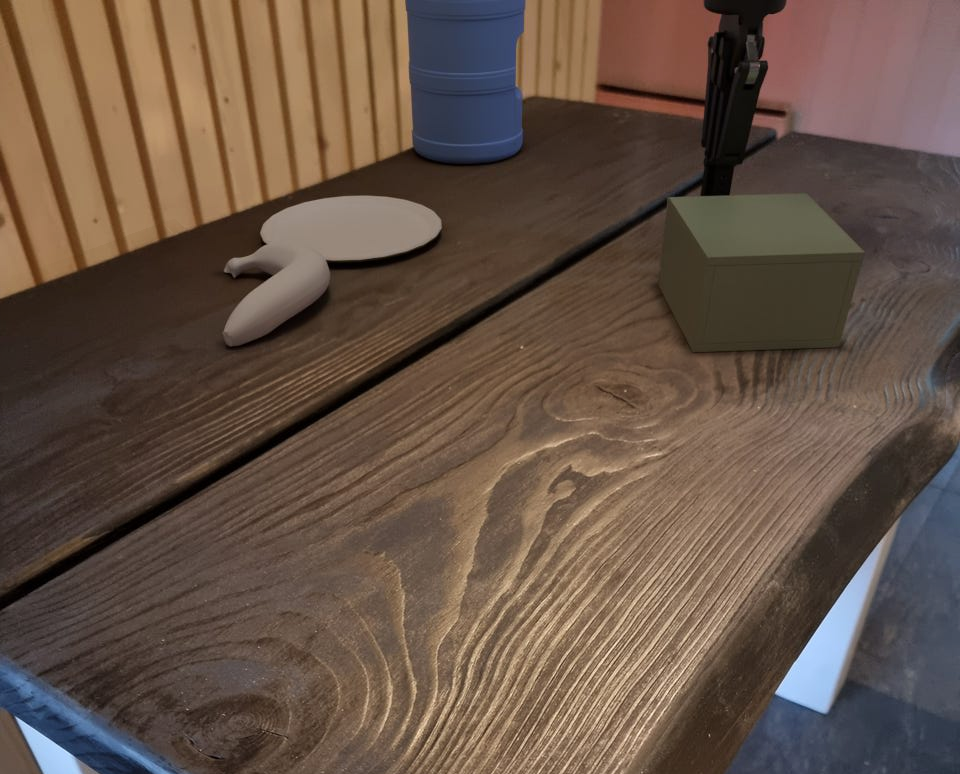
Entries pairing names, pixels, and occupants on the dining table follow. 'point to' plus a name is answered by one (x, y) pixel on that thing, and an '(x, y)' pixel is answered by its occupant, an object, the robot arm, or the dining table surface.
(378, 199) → the plate
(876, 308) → the dining table surface
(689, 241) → the cabinet
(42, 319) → the dining table surface
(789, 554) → the dining table surface
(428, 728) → the dining table surface
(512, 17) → the water jug
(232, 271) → the banana
